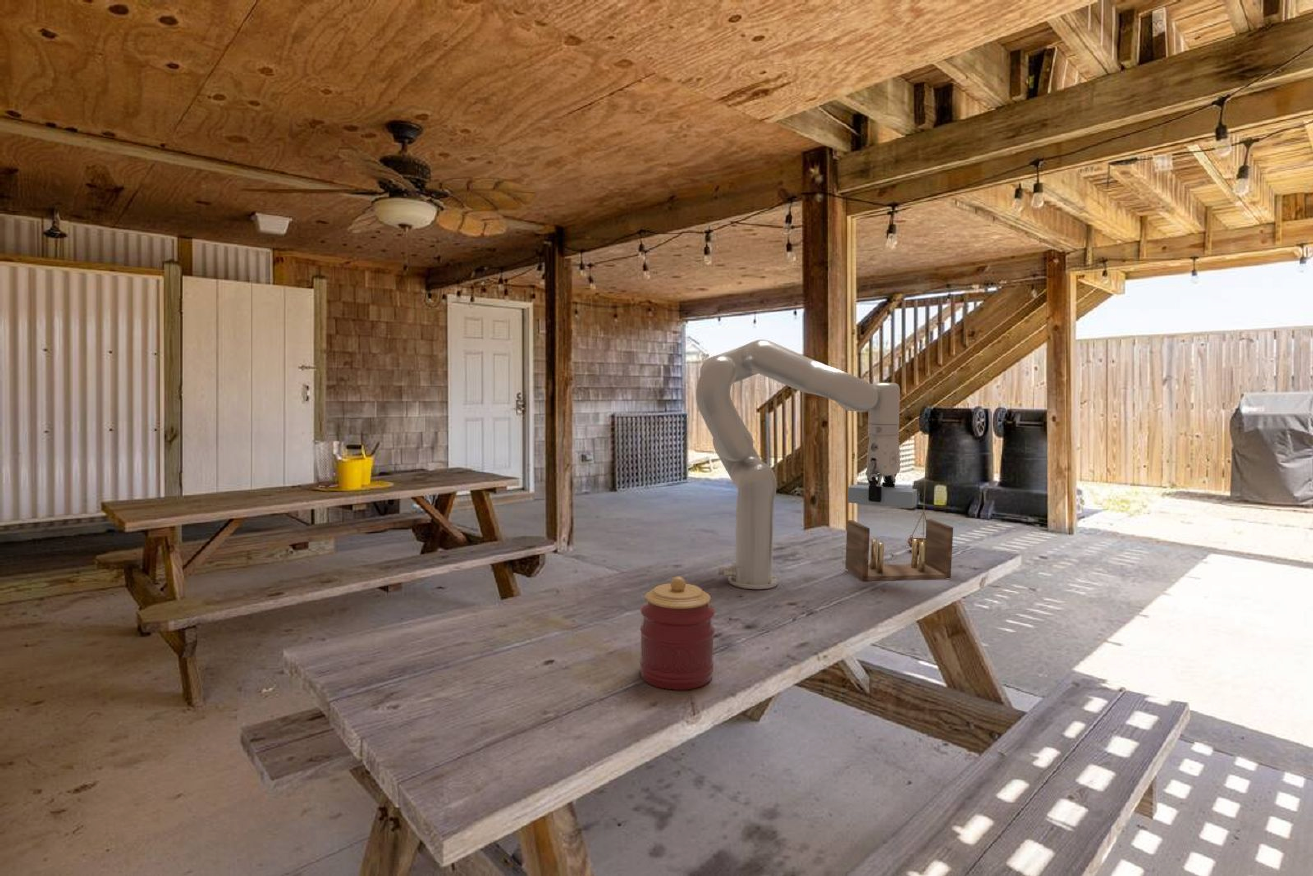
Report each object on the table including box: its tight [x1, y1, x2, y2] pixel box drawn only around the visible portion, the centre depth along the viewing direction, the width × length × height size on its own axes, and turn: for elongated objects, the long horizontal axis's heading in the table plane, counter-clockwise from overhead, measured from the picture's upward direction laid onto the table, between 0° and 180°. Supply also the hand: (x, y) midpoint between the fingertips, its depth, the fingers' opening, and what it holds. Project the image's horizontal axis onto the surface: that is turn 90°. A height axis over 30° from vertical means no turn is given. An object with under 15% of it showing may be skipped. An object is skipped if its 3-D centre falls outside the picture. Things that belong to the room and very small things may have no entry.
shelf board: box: [847, 484, 918, 509], centre depth 178 cm, size 16×6×4 cm, turn 59°
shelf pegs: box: [869, 538, 926, 573], centre depth 189 cm, size 14×6×8 cm, turn 98°
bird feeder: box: [907, 456, 928, 552], centre depth 213 cm, size 9×9×30 cm
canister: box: [639, 576, 716, 691], centre depth 120 cm, size 13×13×18 cm
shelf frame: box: [844, 518, 954, 582], centre depth 188 cm, size 25×11×14 cm, turn 98°
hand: (881, 499), depth 178 cm, fingers closed on shelf board, 6 cm apart
